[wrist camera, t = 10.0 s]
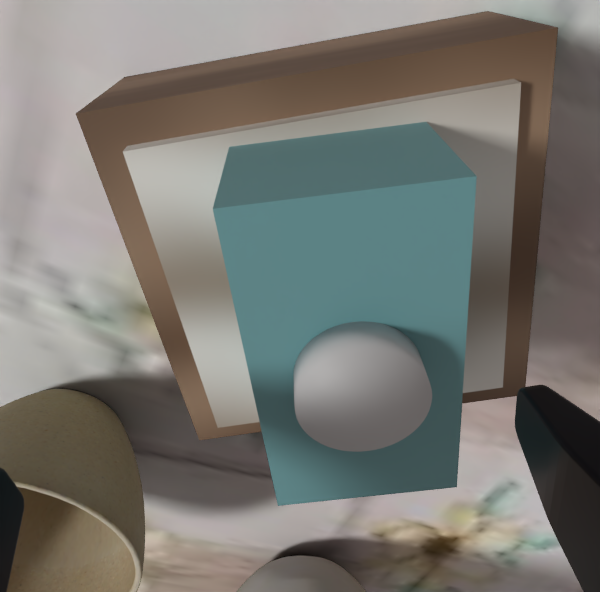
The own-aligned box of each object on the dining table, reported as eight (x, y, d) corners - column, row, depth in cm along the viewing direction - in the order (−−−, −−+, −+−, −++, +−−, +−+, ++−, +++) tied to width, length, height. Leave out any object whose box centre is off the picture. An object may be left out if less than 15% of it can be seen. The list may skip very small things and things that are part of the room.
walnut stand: (124, 77, 18) (69, 118, 13) (488, 11, 17) (567, 29, 12) (213, 356, 24) (197, 450, 19) (479, 316, 23) (529, 404, 19)
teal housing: (278, 404, 18) (278, 538, 14) (229, 146, 13) (206, 231, 9) (423, 388, 18) (467, 519, 14) (426, 121, 13) (495, 195, 9)
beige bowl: (22, 306, 22) (-74, 435, 16) (212, 417, 26) (193, 555, 20) (-75, 434, 26) (-182, 578, 20) (104, 515, 30) (60, 656, 24)
